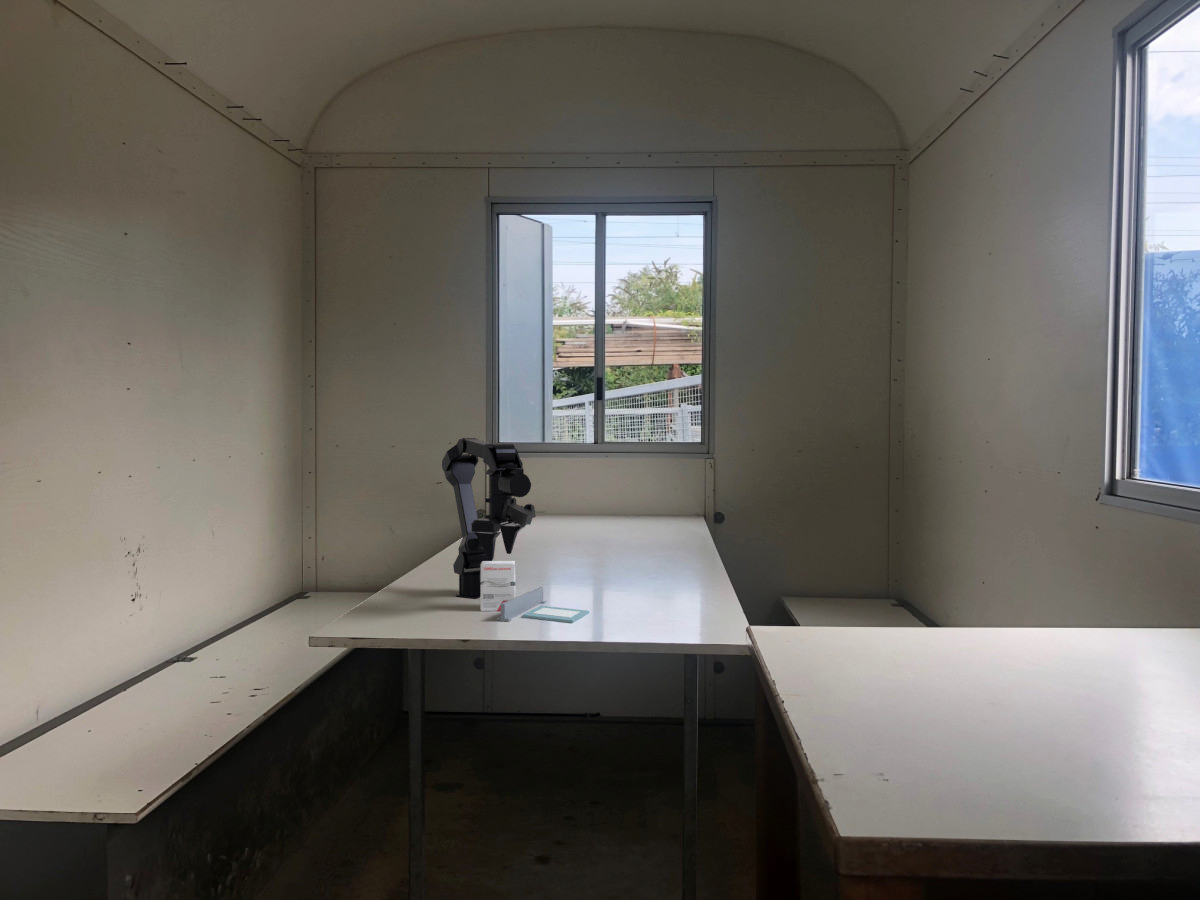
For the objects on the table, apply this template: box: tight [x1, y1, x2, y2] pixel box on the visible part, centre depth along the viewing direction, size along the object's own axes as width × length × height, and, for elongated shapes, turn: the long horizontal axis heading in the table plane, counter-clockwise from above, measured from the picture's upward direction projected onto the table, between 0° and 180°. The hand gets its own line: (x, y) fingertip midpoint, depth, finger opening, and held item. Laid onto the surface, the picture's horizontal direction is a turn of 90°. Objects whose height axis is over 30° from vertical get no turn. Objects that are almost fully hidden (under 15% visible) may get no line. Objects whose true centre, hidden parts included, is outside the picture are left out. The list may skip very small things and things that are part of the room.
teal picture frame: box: [521, 605, 590, 624], centre depth 179 cm, size 13×10×1 cm
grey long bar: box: [497, 586, 547, 622], centre depth 183 cm, size 3×20×4 cm, turn 158°
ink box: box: [479, 560, 516, 612], centre depth 185 cm, size 8×5×12 cm, turn 96°
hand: (500, 556), depth 185 cm, fingers open, 9 cm apart
